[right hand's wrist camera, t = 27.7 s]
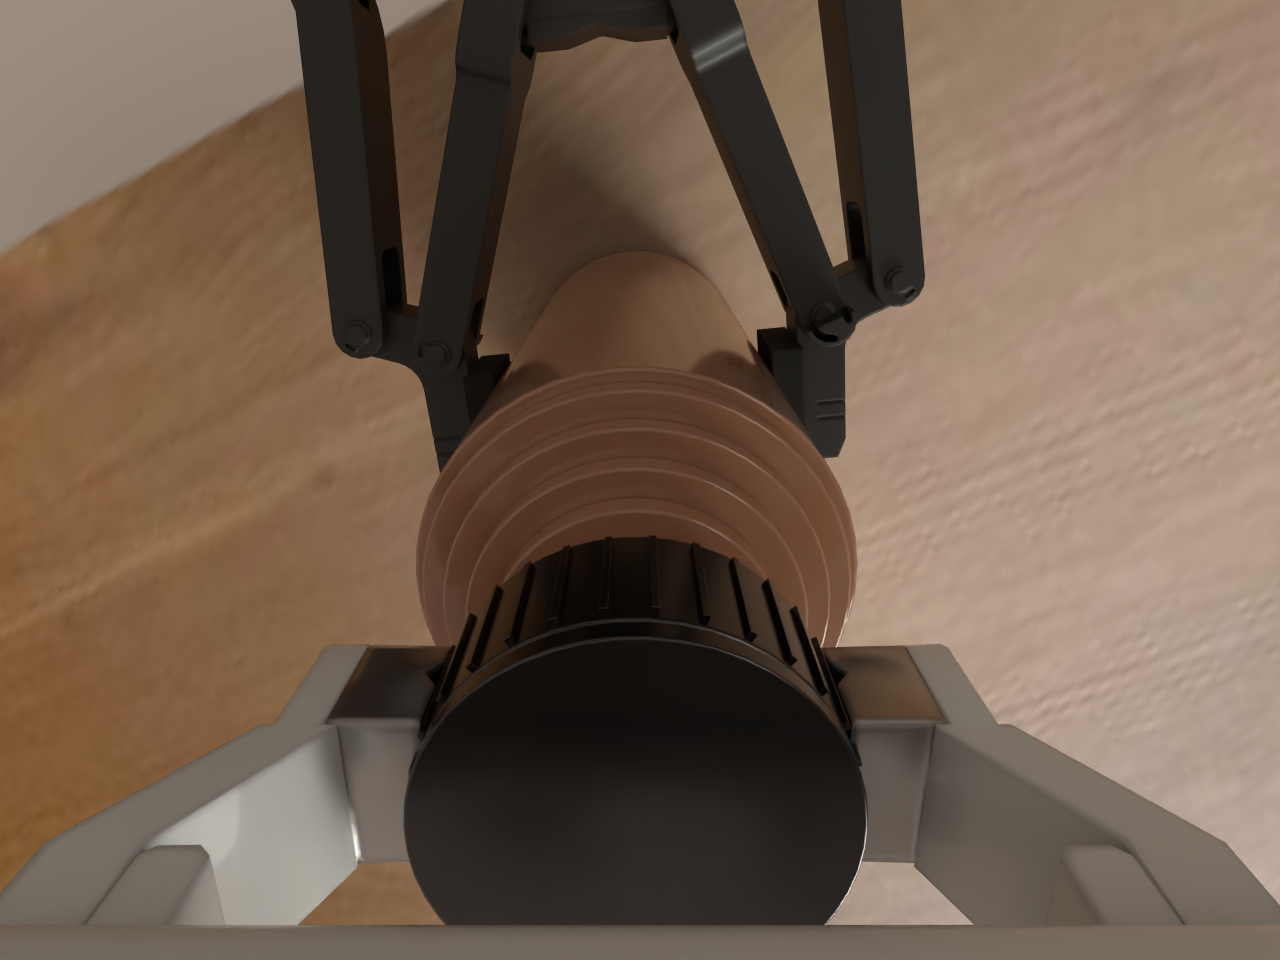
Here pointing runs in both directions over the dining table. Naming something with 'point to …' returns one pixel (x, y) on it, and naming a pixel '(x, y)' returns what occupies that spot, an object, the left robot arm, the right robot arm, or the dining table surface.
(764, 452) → the bottle
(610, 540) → the cap
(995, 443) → the dining table surface
